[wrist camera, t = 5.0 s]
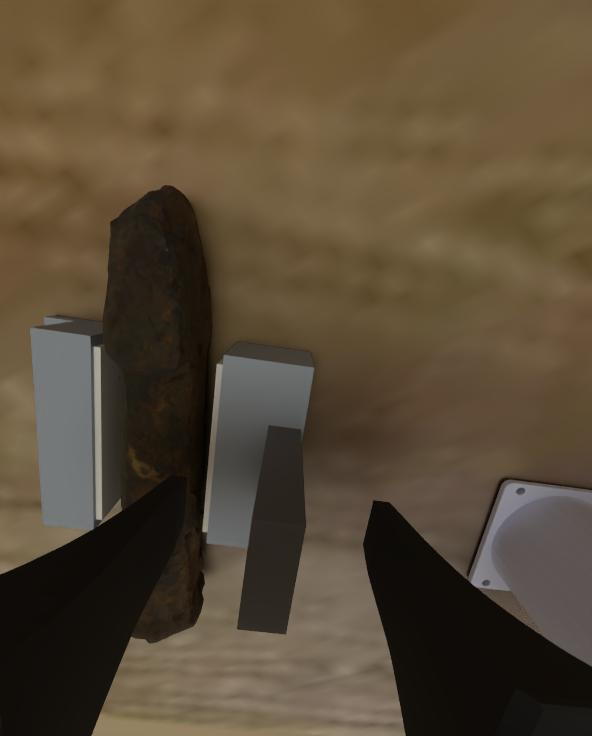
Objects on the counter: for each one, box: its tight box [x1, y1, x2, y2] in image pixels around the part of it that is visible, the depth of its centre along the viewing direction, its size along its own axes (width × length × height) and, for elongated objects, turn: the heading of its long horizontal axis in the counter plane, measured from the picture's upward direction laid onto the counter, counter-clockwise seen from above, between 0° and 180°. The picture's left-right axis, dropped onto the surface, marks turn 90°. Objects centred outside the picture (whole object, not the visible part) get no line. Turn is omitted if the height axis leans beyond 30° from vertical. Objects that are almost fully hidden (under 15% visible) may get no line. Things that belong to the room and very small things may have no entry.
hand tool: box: [103, 185, 212, 643], centre depth 15 cm, size 23×5×6 cm, turn 171°
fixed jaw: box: [30, 315, 123, 530], centre depth 16 cm, size 4×10×4 cm, turn 172°
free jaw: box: [202, 342, 314, 634], centre depth 13 cm, size 4×10×10 cm, turn 172°
